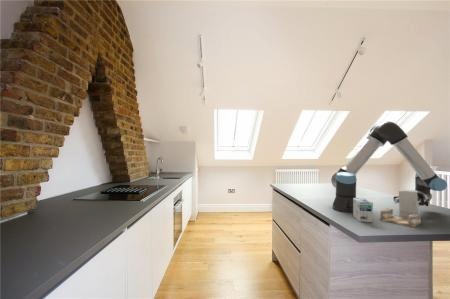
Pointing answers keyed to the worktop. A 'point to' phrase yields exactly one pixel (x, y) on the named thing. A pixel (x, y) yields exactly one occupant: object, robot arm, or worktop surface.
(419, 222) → the tan piece
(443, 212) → the worktop surface
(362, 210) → the light bulb box
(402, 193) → the skincare box
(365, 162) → the robot arm
